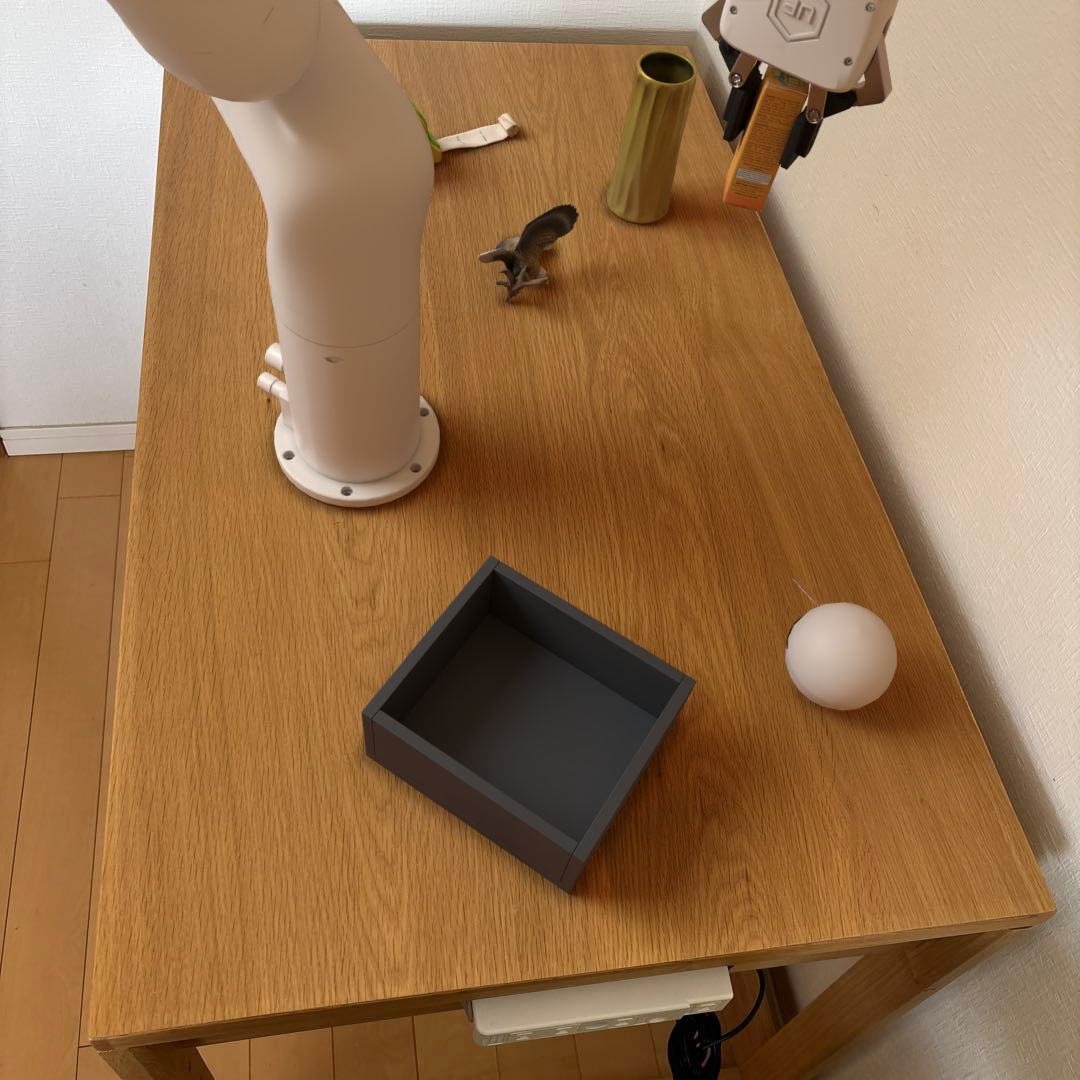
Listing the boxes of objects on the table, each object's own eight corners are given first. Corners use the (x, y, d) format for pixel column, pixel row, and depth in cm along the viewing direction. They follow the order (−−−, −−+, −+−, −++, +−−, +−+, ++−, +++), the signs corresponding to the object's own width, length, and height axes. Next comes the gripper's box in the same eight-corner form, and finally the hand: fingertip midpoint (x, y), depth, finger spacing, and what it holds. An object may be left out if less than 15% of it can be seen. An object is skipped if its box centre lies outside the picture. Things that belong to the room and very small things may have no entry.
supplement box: (765, 215, 78) (810, 95, 70) (721, 205, 78) (760, 84, 70) (768, 188, 80) (812, 68, 71) (725, 178, 80) (763, 57, 71)
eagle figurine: (570, 311, 88) (596, 231, 92) (529, 255, 83) (558, 172, 86) (498, 320, 93) (525, 243, 96) (455, 267, 87) (486, 188, 91)
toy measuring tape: (318, 155, 98) (312, 93, 92) (499, 112, 104) (504, 52, 99) (344, 196, 95) (340, 135, 90) (529, 150, 102) (535, 89, 96)
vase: (679, 200, 100) (715, 64, 88) (649, 234, 97) (681, 97, 85) (625, 174, 101) (653, 37, 89) (594, 206, 98) (618, 68, 86)
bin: (365, 755, 66) (360, 711, 60) (484, 606, 73) (490, 554, 67) (568, 894, 63) (584, 862, 57) (673, 724, 70) (697, 680, 64)
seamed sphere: (890, 717, 72) (935, 671, 65) (793, 736, 70) (829, 691, 64) (837, 594, 77) (873, 541, 71) (745, 609, 75) (774, 556, 69)
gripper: (703, -158, 60) (639, 121, 75) (969, -48, 56) (846, 222, 71) (758, -195, 64) (686, 77, 79) (1009, -95, 60) (884, 170, 75)
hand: (763, 143), depth 75 cm, fingers closed on supplement box, 3 cm apart
